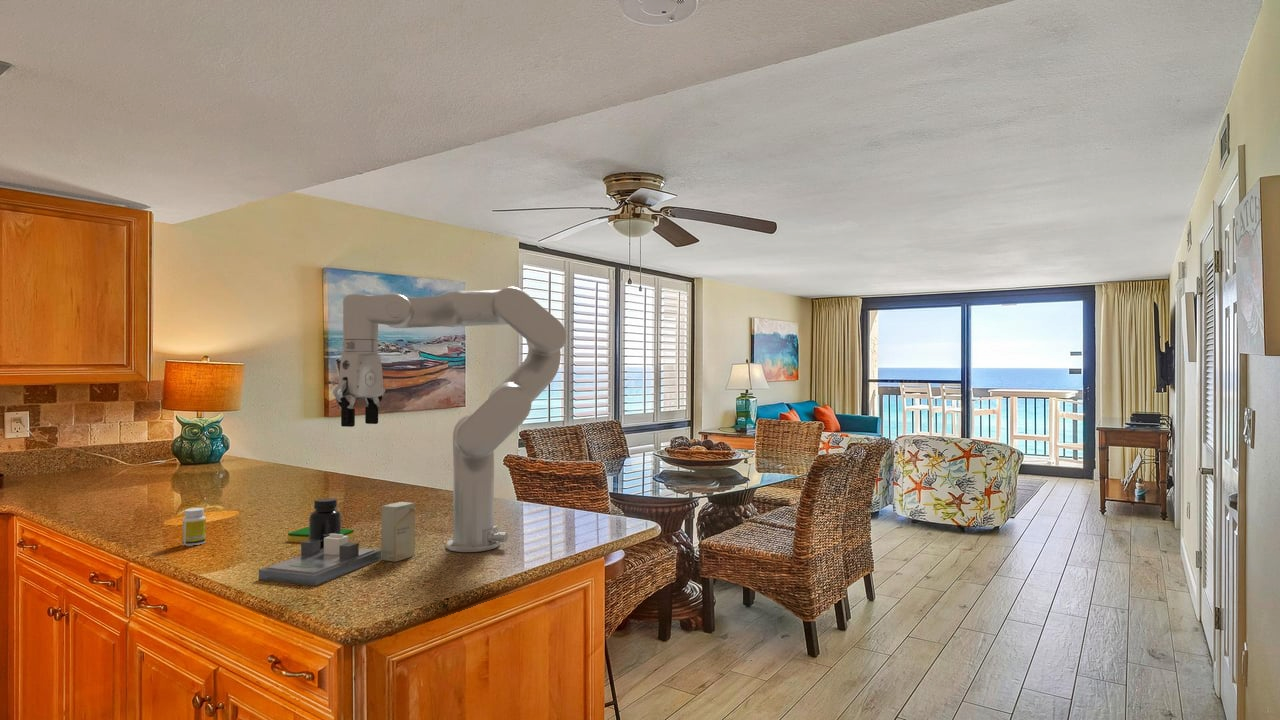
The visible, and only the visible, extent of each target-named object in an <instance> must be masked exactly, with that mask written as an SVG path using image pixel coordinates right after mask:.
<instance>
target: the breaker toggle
mask: <svg viewBox="0 0 1280 720" xmlns="http://www.w3.org/2000/svg"><path fill="white" fill-rule="evenodd" d="M349 542H350V539H349V536H343V534H332V533H331V534H329V536H328V537H325V538H324V554H328V555H340V545H343V544H346V543H349Z"/></svg>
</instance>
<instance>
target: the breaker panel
mask: <svg viewBox="0 0 1280 720" xmlns="http://www.w3.org/2000/svg"><path fill="white" fill-rule="evenodd" d="M359 546H360V545H359V542H350V541H349V543H346V544H343V545H340V555H328V554H324V548H321V549H320V540H318V539H310V540H307V541H303V542H300V548H301V549H300V555H298V556H295V557H293V558H290V559H289V558H288V559H287V560H283V561H281V562H278V563H275V564H272V565H269V566H266V567H262V568H260V569H258V580H259V579H261V580H260V581H266V580H267V582H275V581H277V583H284V584H296V585H303V586H313V587H317V586H319V585H321V584H323V583H326V582H328V581H332V580H335V579H337V578H338V577H341V576H343V575H345V574H348V573H351V572H353V571H356V570H358V569H360V568H363V567H366V566H369V565H371V564H372V563H375V562H377V561H380V560H381V549H375V548H374V549H371V548H363V547H362V548H360V547H359Z"/></svg>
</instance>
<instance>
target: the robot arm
mask: <svg viewBox="0 0 1280 720" xmlns="http://www.w3.org/2000/svg"><path fill="white" fill-rule="evenodd" d="M379 325H384V326H388V327H390V328H393V329H409V328H411V329H413V328H414V329H416V328H436V327H448V328H455V327H456V328H457V327H474V326H475V327H476V326H501V325H509V327H511V328H512V329H513V330H515V331H516V332H517V333H518V334H519V335H520V336H522V337H523V338H524V339H525V341H526V345H527V349H528V350H527V355H526V356H525V357H526V358H525V359H524V360H523V361H522V363H520V365H518V366H517V368H516V369H515V370H514V371H513V372H512V373H511V374H510V375H509V376H508V377H506V378H505V379H504V380H503V381H502V382H501V383H499V385H497V386H495V388H494V389H492V390H491V392H490V393H489V395H488V398H487V400H485V401H484V402H483V403H482V404H481V405H480V406H479V407H478V408H477V409H476V410H475V411H474V412H473V413H471V414H468V415H464V416H462V417H461V418H460V419H458V421H457V422H456V424H455V425H454V427H453V432H452V455H453V458H452V459H453V460H452V461H453V475H452V476H453V487H452V489H453V490H452V491H453V493H452V495H453V496H452V498H453V499H452V500H453V505H452V510H453V511H452V515H453V516H452V517H453V518H452V521H453V523H452V524H453V525H452V527H453V528H452V529H453V530H452V531H453V532H452V538H451V539H449V540H448V541H446V543H445V545H446V546H445V547H446V549H447V550H449V551H453V552H458V553H477V552H478V553H479V552H485V551H490V550H493V549H497V548H498V547H499V546H501V543H506V542H507V541H508V536H509V535H508V532H505V531H504V532H503V531H499V529H498V528H499V526H498V525H495V524H494V523H495V519H494V518H495V517H494V515H495V514H494V513H495V506H494V505H495V499H494V498H495V457H494V454H495V453H494V451H496V449H498V447H500V445H501V444H503V443H504V441H506V439H508V438H509V437H510V435H512V434H513V433H514V432H515V431H516V430H517V429H518V428H519V426H521V425H522V423H524V422H525V420H526V419H527V417H528V416H529V414H530V413H531V410H532V403H533V402H534V401H535V400H536V399H537V398H538V397H539V396H540V395H541V394H542V393H543V392H544V390H545V389H547V388H548V386H549V385H550V384H551V383H552V381H553V380H554V378H555V377H556V375H557V373H558V371H559V368H560V364H561V355H562V354H561V349H563V347H564V345H566V341H567V331H566V329H565V326H564V325H563V324H562V322H561V321H560V320H559V319H557V318H556V317H555V316H554V315H553V314H552V313H551V312H549V311H548V310H546V308H544V307H543V306H542V305H541V304H540V303H539V302H537V301H536V300H535V299H534V298H533V297H531V295H529V294H527V292H525V291H524V290H522V289H520V288H519V287H516V286H507V287H503V288H502V289H490V290H456V291H455V290H454V291H450V292H446V293H444V294H439V295H434V296H432V295H431V296H419V297H415V296H414V297H413V296H412V297H406V296H405V295H402V294H400V293H387V294H374V295H373V294H367V293H349V294H347V295H345V296H344V298H343V302H342V353H341V358H340V364H339V373H338V374H339V376H338V384H337V386H336V387H335V388H334V389H333V390H332V394H333V396H334V398H335V399H336V400H335V401H336V403H338V408H339V409H340V414H341V415H340V421H341V423H340V426H341V427H343V428H344V427H348V428H352V427H353V428H354V427H355V426H356V425H355V424H356V423H355V422H356V421H355V420H356V410H355V408H354V404H355V402H356V400H357V398H361V399H362V398H364V400H365V402H366V405H367V406H365V408H364V411H365V413H364V414H365V416H364V421H365V424H366V425H368V424H369V425H378V423H379V407H380V406H381V401H382V400H383V396H384V395H385V392H386V388H385V387H384V380H383V379H384V378H383V367H382V360H381V356H380V354H379Z"/></svg>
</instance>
